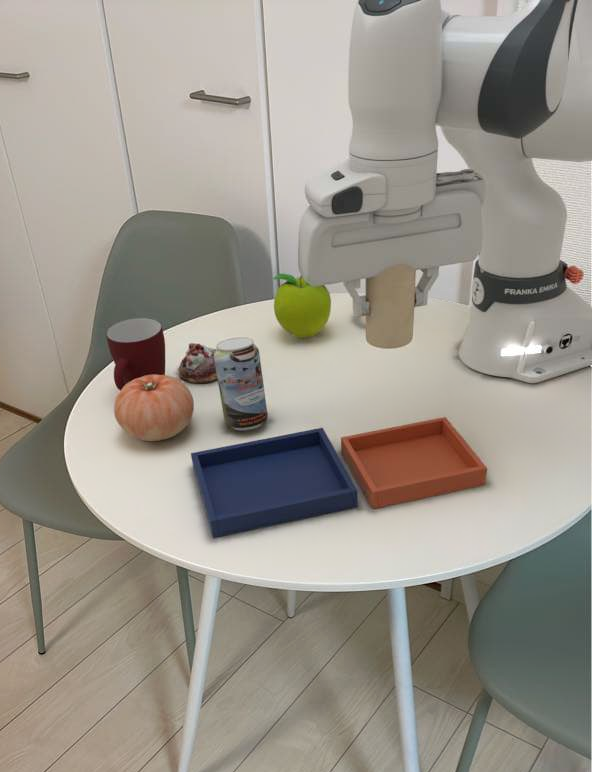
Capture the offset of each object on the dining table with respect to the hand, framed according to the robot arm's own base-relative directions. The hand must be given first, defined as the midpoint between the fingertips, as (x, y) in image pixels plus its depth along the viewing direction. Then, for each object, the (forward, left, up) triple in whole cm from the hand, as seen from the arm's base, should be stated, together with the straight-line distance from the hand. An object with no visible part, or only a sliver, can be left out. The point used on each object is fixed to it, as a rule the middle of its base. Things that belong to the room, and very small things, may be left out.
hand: (389, 309), depth 86 cm
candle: (0, 0, -4) cm, 4 cm away
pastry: (+19, -30, -19) cm, 40 cm away
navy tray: (+16, +3, -19) cm, 25 cm away
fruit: (+1, -37, -19) cm, 42 cm away
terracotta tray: (-1, +5, -19) cm, 20 cm away
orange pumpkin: (+28, -15, -19) cm, 37 cm away
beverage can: (+16, -13, -19) cm, 28 cm away
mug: (+29, -26, -19) cm, 43 cm away
